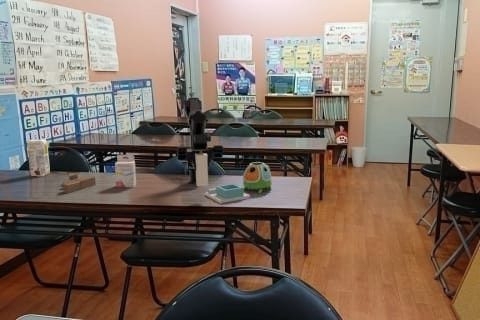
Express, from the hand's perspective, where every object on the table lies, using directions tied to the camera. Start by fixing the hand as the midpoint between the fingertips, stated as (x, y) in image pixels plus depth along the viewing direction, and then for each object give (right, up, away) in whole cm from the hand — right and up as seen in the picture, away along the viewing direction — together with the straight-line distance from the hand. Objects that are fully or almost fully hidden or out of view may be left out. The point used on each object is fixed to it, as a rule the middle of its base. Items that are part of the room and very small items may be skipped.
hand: (202, 169), depth 174 cm
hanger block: (0, -6, +3) cm, 7 cm away
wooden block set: (-65, -10, +31) cm, 72 cm away
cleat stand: (+10, -12, +10) cm, 18 cm away
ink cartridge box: (-38, -9, +30) cm, 49 cm away
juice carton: (-91, -5, +57) cm, 107 cm away
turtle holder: (+24, -9, +22) cm, 34 cm away
